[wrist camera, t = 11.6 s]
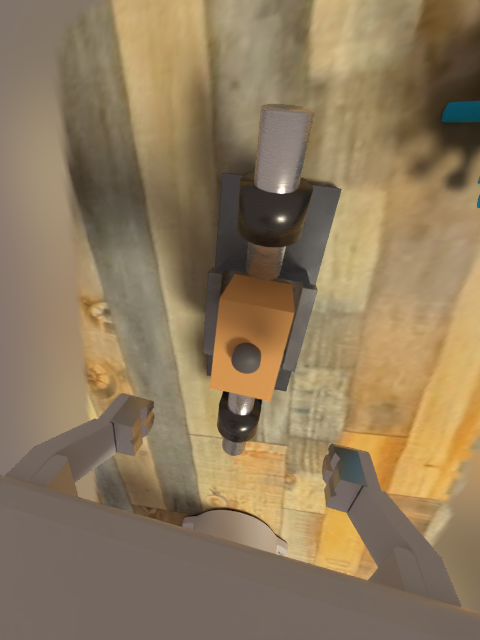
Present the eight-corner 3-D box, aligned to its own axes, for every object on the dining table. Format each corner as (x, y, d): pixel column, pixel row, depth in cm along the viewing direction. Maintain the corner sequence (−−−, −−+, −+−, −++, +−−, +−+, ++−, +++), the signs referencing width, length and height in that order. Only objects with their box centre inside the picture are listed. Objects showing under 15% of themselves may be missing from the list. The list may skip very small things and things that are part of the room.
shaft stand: (281, 401, 30) (279, 497, 21) (207, 385, 31) (173, 472, 21) (350, 147, 18) (418, 101, 9) (228, 132, 19) (171, 75, 10)
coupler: (234, 273, 19) (216, 303, 14) (292, 284, 19) (294, 319, 14) (224, 349, 23) (206, 395, 18) (273, 359, 22) (269, 410, 17)
